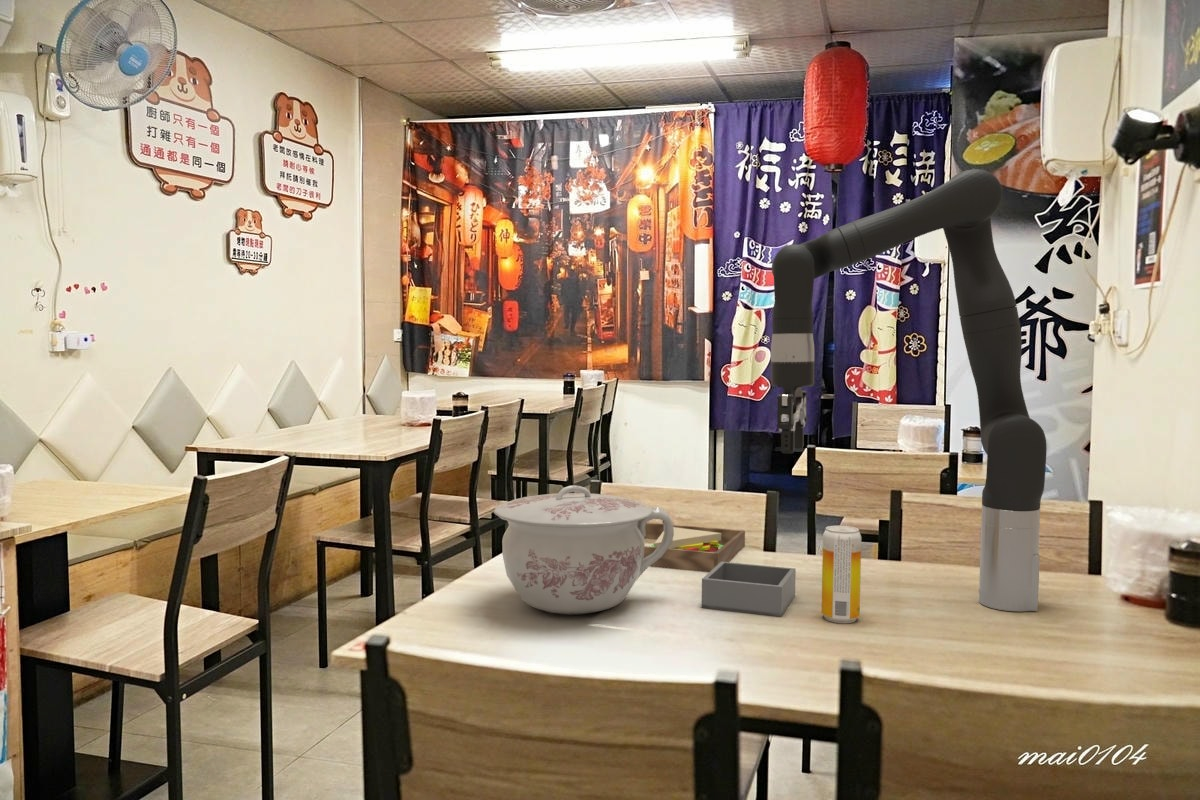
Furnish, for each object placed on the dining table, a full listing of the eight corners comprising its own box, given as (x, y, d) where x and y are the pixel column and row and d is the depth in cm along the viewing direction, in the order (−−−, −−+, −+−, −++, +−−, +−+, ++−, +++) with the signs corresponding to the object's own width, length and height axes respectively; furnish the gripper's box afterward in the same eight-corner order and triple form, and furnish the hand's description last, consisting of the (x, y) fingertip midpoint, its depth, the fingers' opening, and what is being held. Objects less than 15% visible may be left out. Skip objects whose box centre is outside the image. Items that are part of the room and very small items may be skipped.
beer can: (855, 613, 155) (857, 525, 154) (862, 624, 149) (864, 532, 148) (818, 612, 156) (820, 524, 155) (824, 623, 150) (826, 531, 149)
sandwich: (615, 558, 195) (615, 535, 195) (676, 545, 209) (676, 523, 208) (669, 572, 184) (670, 547, 184) (730, 556, 198) (731, 533, 197)
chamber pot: (461, 613, 154) (460, 490, 153) (546, 576, 179) (546, 470, 177) (610, 639, 141) (611, 504, 140) (680, 595, 166) (681, 481, 164)
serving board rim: (744, 548, 204) (745, 530, 203) (717, 573, 181) (718, 553, 181) (641, 539, 212) (641, 522, 212) (603, 562, 190) (603, 543, 190)
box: (795, 596, 166) (795, 568, 165) (781, 616, 153) (781, 587, 153) (720, 588, 171) (721, 561, 170) (701, 607, 158) (701, 578, 158)
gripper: (806, 360, 156) (806, 456, 157) (820, 358, 169) (820, 447, 170) (762, 360, 159) (762, 454, 159) (779, 358, 172) (779, 445, 173)
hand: (792, 450), depth 165 cm, fingers open, 8 cm apart
